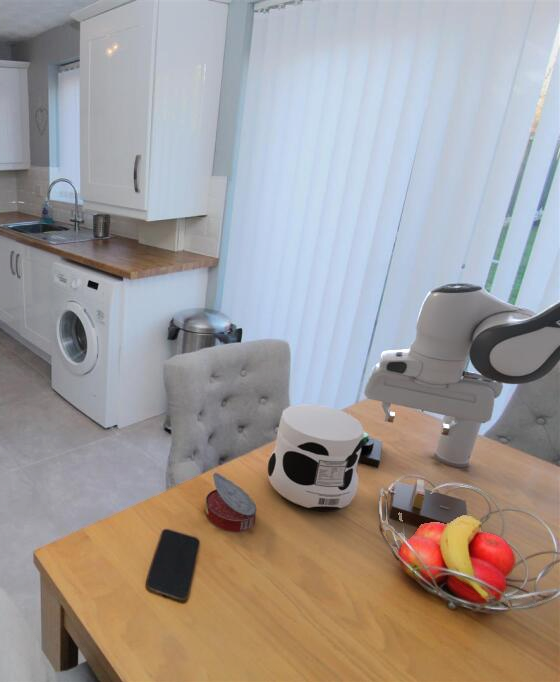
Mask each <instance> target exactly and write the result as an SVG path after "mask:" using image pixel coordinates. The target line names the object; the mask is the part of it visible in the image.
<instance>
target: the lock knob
mask: <svg viewBox="0 0 560 682" xmlns="http://www.w3.org/2000/svg"><path fill="white" fill-rule="evenodd" d="M413 486H414V490H413V507H416V508H419V509H421V508H422V504H423V501H424V498H425V489H426V481H425V480H423V479H419V478H416V479H415V483H414V485H413Z"/></svg>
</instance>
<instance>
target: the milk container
mask: <svg viewBox="0 0 560 682" xmlns="http://www.w3.org/2000/svg"><path fill="white" fill-rule="evenodd" d="M363 431H364V426H363V425H362V423H361V422H360V420H359V419H357V418H356V417H354V416H352V415H351V414H349V413H346V412H345V411H343V410H340V409H337V408H335V407H331V406H327V405H321V404H314V403H298V404H295V405H294V404H293V405H290V406H287V407H286V408H285V409H283V411H282V412H281V416H280V419H279V425H278V428H277V434H276V442H275V447H274V449H273V451H272V452H271V454H270V455H269V459H268V463H267V477H268V481H269V483H270V485H271V487H272V489H273V490H274V491H275V492H276V493H277V494H278V495H279V496H280V497H282V498H283V499H285V500H287V501H288V502H290V503H291V504H294V505H297V506H299V507H301V508H304V509H308V510H314V511H318V512H334V511H339V510H340V509H344V508H345V507H347V506H348V505H350V504H351V502H352V501H353V499H354V498H355V496H356V494H357V491H358V487H359V475H358V464H359V463H358V460H359V456H360V453H361V447H362V444H363Z"/></svg>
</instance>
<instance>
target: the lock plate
mask: <svg viewBox="0 0 560 682" xmlns="http://www.w3.org/2000/svg"><path fill="white" fill-rule="evenodd" d="M396 481H397V480H393V484H394V483H395V482H396ZM414 486H415V485H412V484H409V483H405V482H403V481H402V482H401V481H398V483H397V484H396V485H395V486H394V487H393V486H392V488H393V489H391V490H390V492H389V493H390V505H389V514H388V515H389V516H388V518H389V519H391V520H394V521H397V522H400V520H399V515H398V513H399V512H400V513H402V520H403V522H402V523H403V524H406V525H408V526H409V525H410V526H412V527H416V528H419V526H420V525H421V524H424V523H430V522H440V523H444V524H447V523H450V522H451V521H453V520H454V519H456V518H457V517H460V516H462V515H467V516H468V509H467V501H466V499H465V500H464V499H461V498H458V497H454V496H452V495H447V494H445V493H440V492H437V491H433V490H430V489H426V488H425V498H424V501H423V504H422V508H421V509H419V508H416V507H413V490H414ZM432 491H433V492H434V493H432V494H430V493H431V492H432ZM391 495H392V497H391Z"/></svg>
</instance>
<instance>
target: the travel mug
mask: <svg viewBox="0 0 560 682" xmlns="http://www.w3.org/2000/svg"><path fill="white" fill-rule="evenodd" d="M452 421H454V418H453V417H451V416H446V415H445V418H444V422H443V424H448V425H449V424H450V423H451V422H452ZM481 426H482V423H478V422H474V421H469V420H465V419H464V422H463V424H462V425H460V426H459V427H457V428H456V429H454V430H453V431H452V434H451V436H446V435H442V434H441V433H440V435H439V438H438V441H437V445H436V448H435V451H434V455H433V456H434V458H435V459H436V461H438V462H440V464H443V465H445V466H449V467H452V468H457V469H459V468H465V467H467V466H468V465H469V462H470V459H471V455H472V453H473V450H474V447H475V444H476V441H477V438H478V435H479V432H480V429H481Z"/></svg>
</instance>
